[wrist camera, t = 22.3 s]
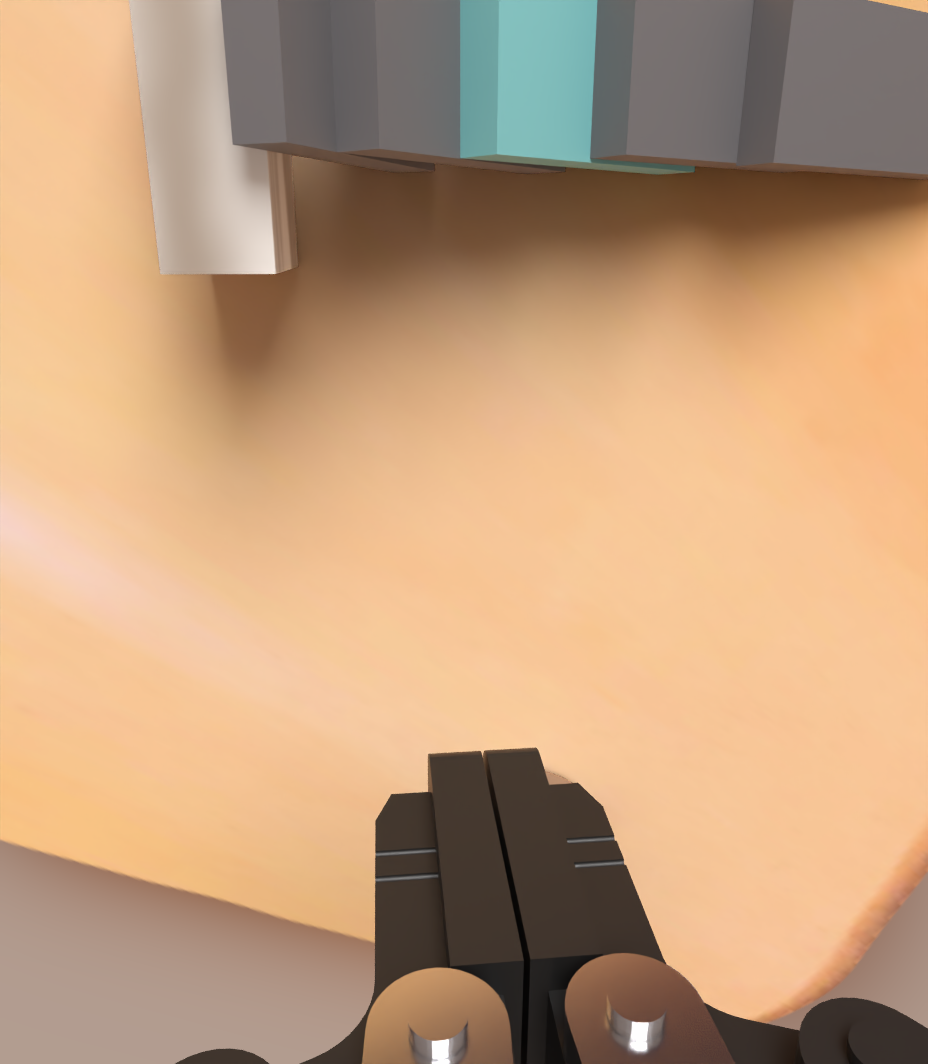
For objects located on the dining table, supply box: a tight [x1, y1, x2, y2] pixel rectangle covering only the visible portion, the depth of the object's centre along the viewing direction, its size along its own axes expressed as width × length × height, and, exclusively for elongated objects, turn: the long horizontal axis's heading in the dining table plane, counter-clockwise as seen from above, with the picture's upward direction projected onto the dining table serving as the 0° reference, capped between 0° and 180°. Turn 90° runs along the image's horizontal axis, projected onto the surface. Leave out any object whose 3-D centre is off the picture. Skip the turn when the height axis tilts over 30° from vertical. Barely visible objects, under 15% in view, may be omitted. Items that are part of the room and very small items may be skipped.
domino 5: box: [736, 0, 928, 180], centre depth 35 cm, size 2×6×12 cm
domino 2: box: [330, 0, 565, 174], centre depth 32 cm, size 2×6×12 cm
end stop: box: [129, 0, 298, 274], centre depth 31 cm, size 4×14×9 cm, turn 0°
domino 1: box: [221, 0, 435, 173], centre depth 31 cm, size 2×6×12 cm, turn 0°
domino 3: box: [460, 0, 695, 175], centre depth 33 cm, size 2×6×12 cm
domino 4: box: [590, 0, 796, 173], centre depth 34 cm, size 2×6×12 cm
